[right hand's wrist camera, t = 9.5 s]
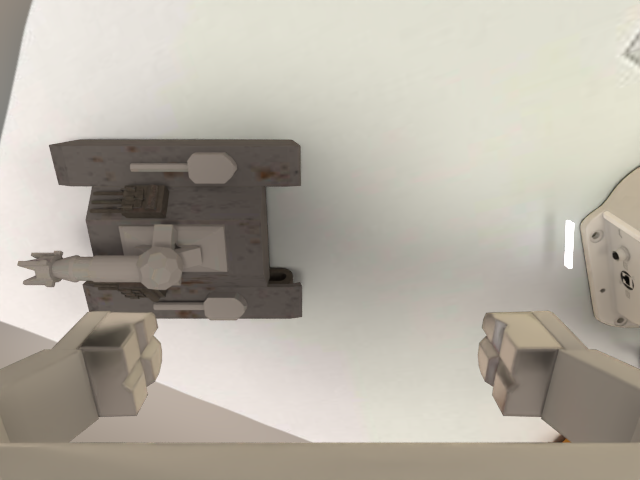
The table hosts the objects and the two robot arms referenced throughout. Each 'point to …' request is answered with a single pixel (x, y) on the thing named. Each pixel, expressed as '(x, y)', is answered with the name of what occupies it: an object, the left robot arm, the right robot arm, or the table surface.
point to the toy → (177, 227)
